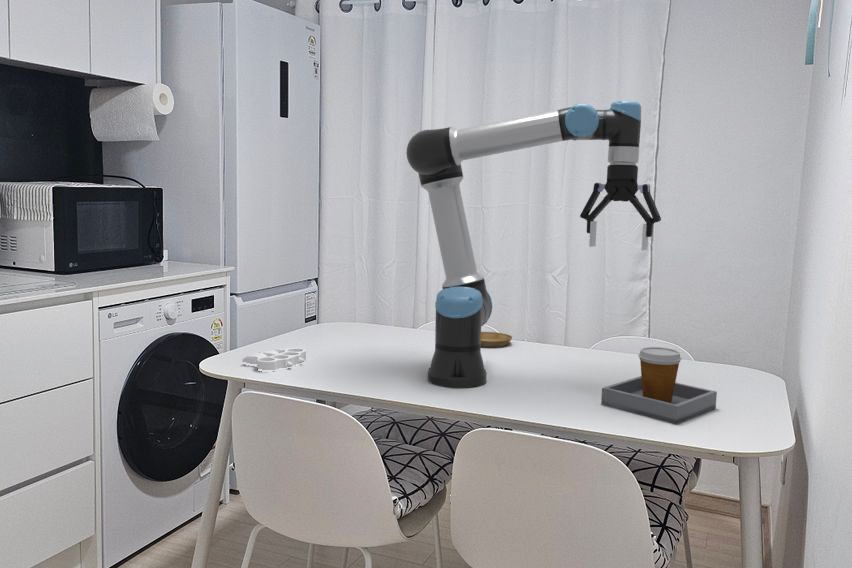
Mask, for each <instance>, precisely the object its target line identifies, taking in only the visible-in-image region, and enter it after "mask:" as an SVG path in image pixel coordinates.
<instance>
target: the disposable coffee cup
mask: <svg viewBox="0 0 852 568" xmlns="http://www.w3.org/2000/svg"><path fill="white" fill-rule="evenodd" d="M680 353H681V352H680V351H678V350H676V349H672V348H668V347H658V346H655V347H654V346H652V347H651V346H649V347H643V348H641V349H640V351H639V354H637V355H638V357H639V360H640V376H641V377H642V391H643V397H647V398H651V399H655V400H659V401H663V402H668V403H671V402H672V397H673V392H674V387H675V382H676V383H677V377H678V371H679V366H680V363H681V360H682V356H681V354H680Z"/></svg>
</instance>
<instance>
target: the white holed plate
mask: <svg viewBox="0 0 852 568" xmlns="http://www.w3.org/2000/svg"><path fill="white" fill-rule="evenodd" d="M305 360H306V361H307V349H305V348H300V347H292V348H291V347H290V348H277V347H276V348H270V349H269V350H265V351H261V352H258V353H256V354H253V355H247V356H245V357H243V358H242V363H243V362H246V363H250V364H257V368H258V369H262V370H276V369H279V368H287V367H292V366H293V365H296V364H300V363H301V364H302V363H304V362H306V361H305ZM257 368H256V369H257Z"/></svg>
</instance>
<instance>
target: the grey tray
mask: <svg viewBox="0 0 852 568" xmlns="http://www.w3.org/2000/svg"><path fill="white" fill-rule="evenodd" d="M717 393H718V391H716V390H711V389H707V388H701V387H698V386H692V385H689V384H685V383H679V382H677V381H676V382H675V387H674V392H673V397H672V402H671V403H668V402H663V401H659V400H655V399H651V398H647V397H643V391H642V377H641V375H640V376H637V377H633V378H630V379H627V380H623V381H621V382H616V383H613V384H611V385H607V386H604V387H601V397H600V401H601V402H600V405H602V406H605V407H609V408H613V409H617V410H619V411H620V410H621V411H624V412H628V413H631V414H635V415H639V416H643V417H646V418H647V417H648V418H650V419H654V420H659V421H661V422H667V423H670V424H673V425H678V424H681V423H684V422H686V421H688V420H690V419H693V418H696V417H697V416H700V415H703V414H705V413H707V412H708V413H709V412H710V411H713V410H715V409H717Z"/></svg>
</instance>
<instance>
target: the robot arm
mask: <svg viewBox="0 0 852 568" xmlns="http://www.w3.org/2000/svg"><path fill="white" fill-rule="evenodd" d="M641 129H642V105H641V103H640V102H637V101H632V100H620V101H619V100H618V101H613V102H611V104H610V108H609V109H596V108H594V107H593V106H592V105H591V104H588V103H576V104H574V105H573V106H571V107H565V108H561V109H555V110H554V109H553V110H550V111H544V112H540V113H535V114H530V115H525V116H520V117H515V118H510V119H505V120H501V121H495V122H491V123H485V124H480V125H476V126H470V127H466V128H460V129H456V128H455V127H454V126H449V127H444V128H437V129H424V130H420V131H419V132H417V133H415V134H414V135H412V137H411V139H409V141H408V143H407V146H406V159H407V162H408V164H409V166H410V167H411V168H412V169H413V171H415V172H417V173H418V178H419V183H420V187H421V188H423V190H425V191H426V192H427V193H428V198H429V204H430V208H431V212H432V213H431V214H432V218H433V222H434V225H435V232H436V237H437V242H438V246H439V251H440V256H441V261H442V264H443V265H442V266H443V269H444V275H445V280H444V282H443V283H442V284H441V290H439V292H438V293H436V299H435V333H434V334H435V335H434V336H435V338H434V339H435V341H434V342H435V346H434V353H433V355H432V358H431V361H430V367H428V369H427V381H428V382H429V383H431V384H433V385H435V386H436V385H437V386H440V387H445V388H456V389H457V388H459V389H460V388H461V389H462V388H463V389H464V388H473V387H479V386H482V385H484V384H486V383H487V380H488V379H487V378H488V377H487V376H488V374H487V370H486V369H485V365H484V359H483V355H482V352H481V350H482V349H481V332H482V327H483V326H484V325H486V323H487V322H488V321H489V319H490V317H491V315H492V310H493V300H492V297H491V295H490V293H489V292H488V289H487V285H486V280H485V277H484V276H483V275H482V274H480V273H478V271H477V265H476V261H475V256H474V255H475V254H474V251H473V245H472V241H471V236H470V231H469V227H468V221H467V217H466V213H465V212H466V211H465V207H464V202H463V197H462V192H461V187H460V186H461V185H460V184H461V183H462V181H463V180H464V174H463V168H462V162H463V161H467V160H472V159H478V158H483V157H487V156H492V155H493V156H494V155H498V154H502V153H506V152H513V151H518V150H523V149H528V148H534V147H538V146H543V145H548V144H553V143H554V144H555V143H559V142H564V141H566V142H567V141H608V150H607V163H609V164H608V166H607V167H606V168H607V169H606V182H605V184H604V183H601V182H595V183H594V184H593V189H592V193H591V194H590V196H589V198H588V199H587V201H586V203H585V205H584V207H583V208H582V211H581V213H580V215H579V217H580V218H581V219H583V220H585V221H586V234H589V241H588V244H589V245H588V246H589V247H590V248H592V247H596V243H597V242H596V240H597V225H598V222H597V220H596V218H597V217H598V216H599V214H600V213H602V211H603V210H605V208H606V207H607V206H608V205H609V204H610V203H611V202H612V201H613V202H630V203H631V204H632V206H633V207H634V209H636V211H637V212H638V213H639V215H640V216H641V218H642V219H643V221H644V222H645V223H642V237H641V251H648V245H649V238H652V237H653V230H654V224H655V223H659V222H661V220H662V217H661V215H660V213H659V211H658V208H657V206H656V204H655V201H654V199H653V196H652V194H651V185H650V184H647V183H644V184H638V173H639V166H638V165H637V164H638V163H639V158H640V156H639V155H640V140H641ZM604 190H605V192H606V193H607V194H606V195H605V196H604V197H603V199H602V200H601V201H600V202H599V203H598V205H596V207H595V208H594V209H593V207H594V206H595V204H596V201H597V200H598V198H599V196H600V194H601V193H602V192H603V191H604ZM638 191H639V192H640V193H641V194H642V195H643V198H644V201H645V204H646V206H647V208H648V209H649V212H650V214H649V213H648V211H647V209H646V208H645V207H644V206H643V205H642V203H641V202H640V200H639V198H638V197H637V196H636V194H637V192H638Z"/></svg>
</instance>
